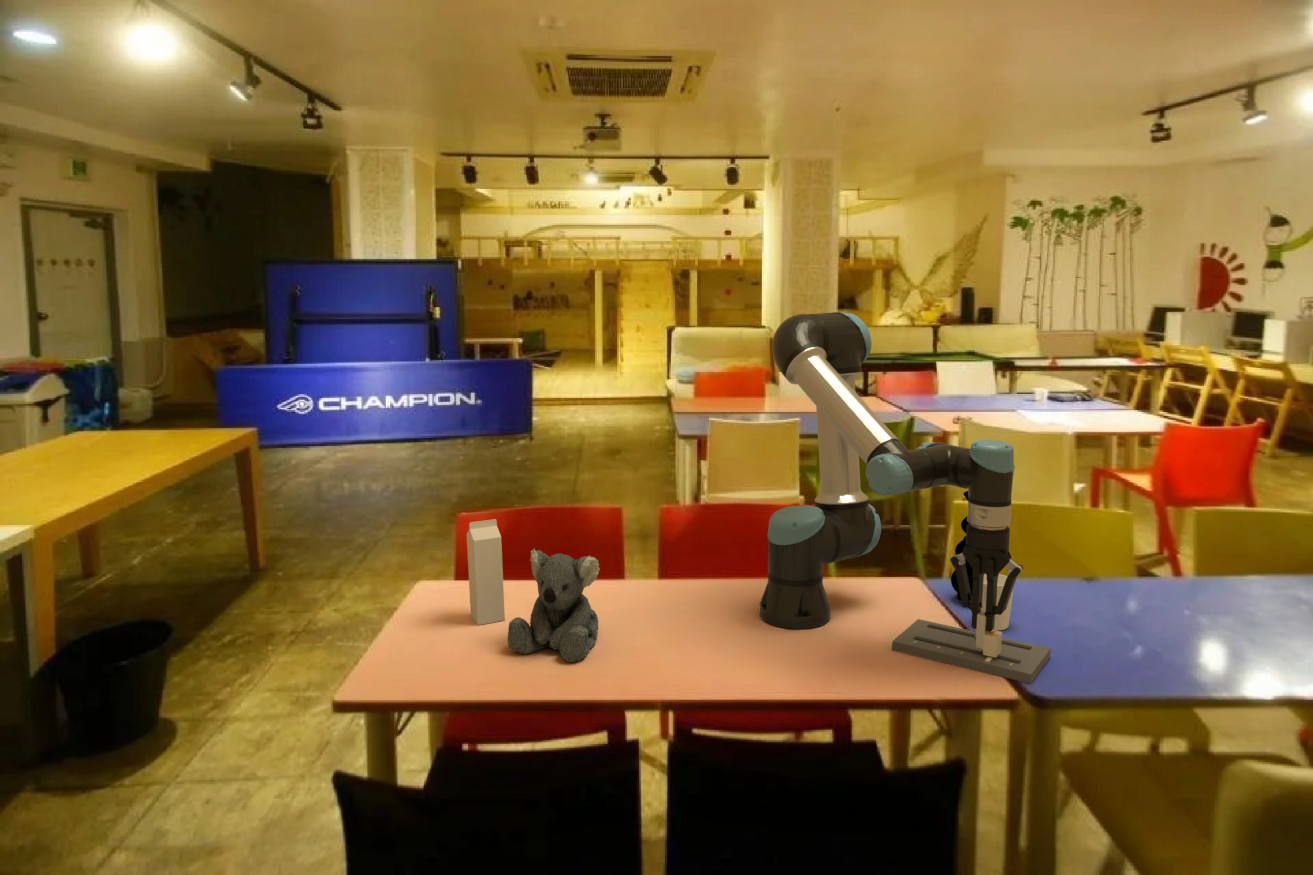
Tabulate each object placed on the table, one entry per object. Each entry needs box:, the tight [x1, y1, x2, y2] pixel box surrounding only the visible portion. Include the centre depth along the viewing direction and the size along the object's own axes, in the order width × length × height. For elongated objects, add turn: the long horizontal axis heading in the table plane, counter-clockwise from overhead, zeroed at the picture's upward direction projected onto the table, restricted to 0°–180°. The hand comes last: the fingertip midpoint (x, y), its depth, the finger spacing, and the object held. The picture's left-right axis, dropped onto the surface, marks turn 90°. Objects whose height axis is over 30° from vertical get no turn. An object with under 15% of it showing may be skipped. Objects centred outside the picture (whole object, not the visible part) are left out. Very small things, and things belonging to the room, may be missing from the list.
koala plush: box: [506, 547, 601, 663], centre depth 180 cm, size 17×18×20 cm
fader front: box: [983, 630, 1003, 658], centre depth 168 cm, size 2×3×4 cm
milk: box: [466, 518, 506, 626], centre depth 193 cm, size 6×6×22 cm
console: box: [891, 618, 1052, 685], centre depth 174 cm, size 26×14×2 cm, turn 53°
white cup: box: [981, 573, 1014, 631], centre depth 187 cm, size 8×8×10 cm
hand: (981, 645), depth 170 cm, fingers closed
